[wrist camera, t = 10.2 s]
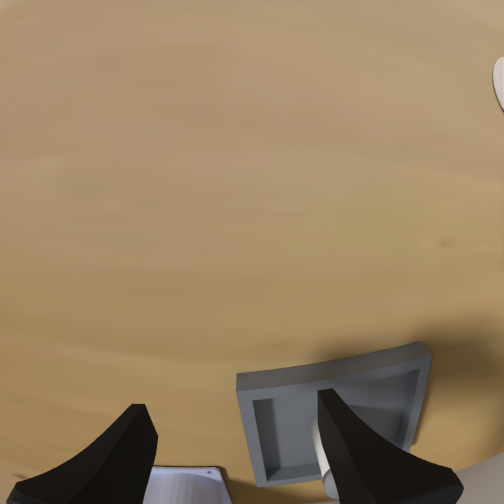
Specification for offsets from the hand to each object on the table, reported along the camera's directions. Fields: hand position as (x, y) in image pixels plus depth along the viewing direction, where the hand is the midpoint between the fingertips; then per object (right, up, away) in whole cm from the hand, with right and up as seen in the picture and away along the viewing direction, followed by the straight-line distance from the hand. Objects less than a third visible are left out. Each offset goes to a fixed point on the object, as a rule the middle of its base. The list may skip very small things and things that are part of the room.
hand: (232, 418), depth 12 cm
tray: (+8, -8, +13) cm, 17 cm away
